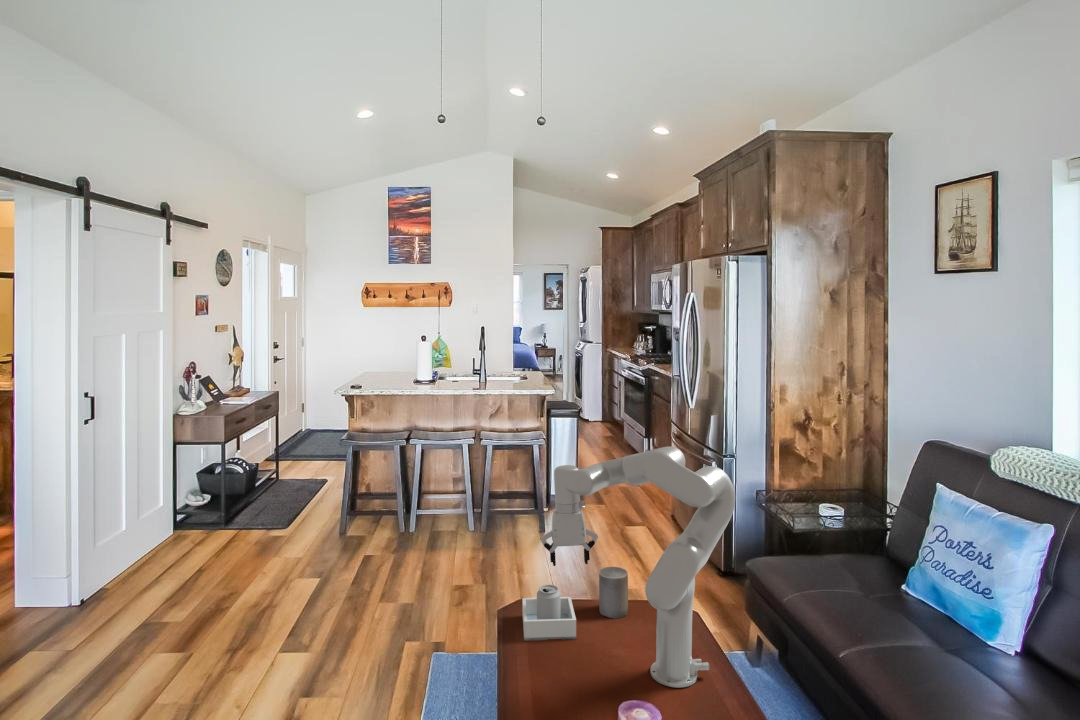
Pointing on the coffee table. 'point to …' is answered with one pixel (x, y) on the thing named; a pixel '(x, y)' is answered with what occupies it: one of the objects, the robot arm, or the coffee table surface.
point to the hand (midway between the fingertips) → (570, 563)
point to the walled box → (548, 622)
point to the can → (548, 602)
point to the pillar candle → (613, 592)
